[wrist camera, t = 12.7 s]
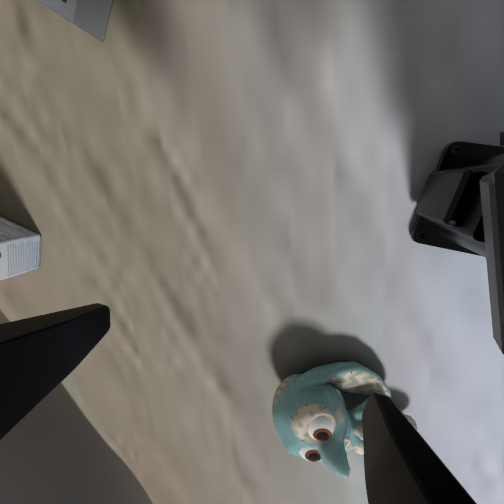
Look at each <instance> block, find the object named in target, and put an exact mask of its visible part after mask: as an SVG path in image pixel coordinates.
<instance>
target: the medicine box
mask: <svg viewBox="0 0 504 504" xmlns="http://www.w3.org/2000/svg"><path fill="white" fill-rule="evenodd" d="M40 247H41V236H40V235H39V234H37V233H35V232H32V231H30V230H28V229H26V228H24V227H22V226H20V225H17V224H15V223H13V222H11V221H9V220H7V219H5V218H2V217H0V280H3V279H6V278H9V277H12V276H16V275H19V274H22V273H25V272H28V271H31V270H34V269H37V268H38V267H39V266H40Z"/></svg>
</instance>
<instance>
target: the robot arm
mask: <svg viewBox="0 0 504 504" xmlns="http://www.w3.org/2000/svg"><path fill="white" fill-rule="evenodd" d="M500 146H504V131H503V132H500ZM453 147H456V148H457V152H456V154H454V155H453V154H452V153H451V149H452V148H453ZM416 213H417V214H418V217H417V219H416V222H415V225H414V227H413V230H412V232H411V239H412V240H413V241H415V242H417V243H421V244H426V245H431V246H436V247H441V248H446V249H451V250H455V251H460V252H465V253H470V254H475V255H480V256H484V257H486V259H487V270H488V281H489V293H490V304H491V315H492V326H493V337H494V339H495V341H496V343H497V344H498V346H499V348H500V350H501V352H502V353H503V354H504V147H499V146H491V145H483V144H476V143H468V142H460V141H459V142H453V143H450V144H448V145H447V146H446V147H445V148H444V150H443V153H442V155H441V158H440V161H439V163H438V166H437V168H436V171H435V172H433V173H431V174H430V175H429V177H428V180H427V183H426V185H425V188H424V190H423V193H422V196H421V198H420V201H419V203H418V206H417V209H416ZM421 232H422V233H423V236H422V237H421V238H417V235H418V233H421ZM109 328H110V309H109V307H108V306H106V305H103V304H99V303H96V304H91V305H86V306H82V307H77V308H73V309H68V310H63V311H59V312H54V313H50V314H45V315H40V316H36V317H31V318H27V319H22V320H18V321H13V322H8V323H4V324H0V440H1V439H2V438H3V437H4V436H5V435H6V434H7V433H8V432H9V431H10V430H11V429H13V427H15V426H16V425H17V424H18V423H19V422H20V421H21V420H22V419H23V418H24V417H25V416H26V415H27V414H28V413H29V412H30V411H31V410H32V409H33V408H34V407H35V406H37V405H38V404H39V403H40V402H41V401H42V400H43V399H44V398H45V397H46V396H47V395H48V394H49V393H50V392H51V391H52V390H53V389H54V388H55V387H56V386H57V385H58V384H60V383H61V382H62V381H63V380H64V379H65V378H66V377H67V376H68V375H69V374H70V373H71V372H72V371H73V370H74V369H75V368H76V367H77V366H78V365H79V364H80V362H81V361H82V360H83V359H84V358H85V357H86V356H87V355H88V353H89V352H90V351H91V350H92V349H93V348H94V347H95V346H96V345H97V343H98V342H99V341H100V340H101V339H102V338H103V337H104V336H105V334H106V333H107V332H108V330H109ZM362 430H363V449H364V467H365V481H366V489H367V497H368V503H369V504H476V502H475V501H474V500H473V499H472V498H471V496H470V495H469V494H468V493H467V491H466V490H465V489H464V488H463V487H462V485H461V484H460V483H459V482H458V480H457V479H456V478H455V477H454V476H453V474H452V473H451V472H450V471H449V469H448V468H447V467H446V466H445V465H444V463H443V462H442V461H441V460H440V458H439V457H438V456H437V455H436V454H435V452H434V451H433V450H432V449H431V447H430V446H429V445H428V444H427V443H426V441H425V440H424V439H423V438H422V436H421V435H420V434H419V433H418V432H417V430H416V429H415V428H414V427H413V425H412V424H411V423H410V422H409V420H408V419H407V418H406V417H405V416H404V414H403V413H402V412H401V411H400V409H399V408H398V407H397V406H396V405H395V403H394V402H393V401H392V400H391V398H390V397H389V396H387V395H385V394H382V393H379V392H376V391H373V392H371V394H370V396H369V398H368V400H367V403H366V405H365V407H364V410H363V413H362Z"/></svg>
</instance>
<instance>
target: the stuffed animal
mask: <svg viewBox="0 0 504 504" xmlns="http://www.w3.org/2000/svg"><path fill="white" fill-rule="evenodd" d="M335 387H336V388H337V389H339V390H340V391H342V392H350V393H358V394H366V395H370V394H371V392H373V391H376V392H379V393H382V394H385V395H387V396H389V397H391V393H390V389H389V388H388V386H387V385H386V384H385V383H384V381H383V380H382V379H381V377H380V376H379V375H377V374H376V373H375V372H373V371H371V370H370V369H368V368H366V367H364V366H362V365H361V364H359V363H357V362H355V361H353V362H334V363H331V364H327V365H322V366H318V367H315V368H313V369H311V370H309V371H307V372H305V373H303V374H292V375H290V376H289V377H287V378H286V379H285V380H283V381H282V382H281V384H280V385H279V386H278V388H277V389H276V392H275V395H274V398H273V419H274V424H275V427H276V429H277V432H278V434H279V436H280V438H281V440H282V442H283V444H284V446H285V448H286V450H287V451H288V452H289V453H290V454H295V455H297V456H299V457H301V458H303V459H305V460H308V461H312V462H323V463H324V464H325V465H326V466H327V467H328V468H329V469H330V470H331V471H332V472H333V473H334V474H335V475H337V476H340V477H342V478H347V479H348V477H349V473H350V467H349V464H348V460H347V454H346V453H347V452H351V451H355V452H356V453H357V454H364V449H363V430H362V413H363V410H364V407H365V405H366V403H367V400H368V399H367V400H366V401H364V402H363V403H362V404H361V405H360V406H359V407H356V408H353V409H349V410H346V408H345V406H344V404H343V402H342V400H341V398H340V396H339V394H338V392H337V390H336V388H335ZM404 416H405V417H406V418H407V419H408V420H409V422H410V423H411V424H412V425H413V427H414V428H415V429H416V430H417V429H418V428H417V426H416V423H415V420H414V419H413V418H412V417H411V416H408V415H405V414H404Z"/></svg>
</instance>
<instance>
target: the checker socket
mask: <svg viewBox="0 0 504 504" xmlns="http://www.w3.org/2000/svg"><path fill="white" fill-rule="evenodd" d="M36 1H38V2H40V3H41V4H43V5H44V6H46V7H48V8H49V9H51V10H52V11H54V12H56V13H57V14H59V15H60V16H62V17H64V18H65V19H67V20H69V21H70V22H72V23H73V24H75V25H77V26H78V27H80V28H81V29H83V30H85V31H86V32H88V33H90V34H91V35H93V36H94V37H96V38H98V39H99V40H101V41H102V42H103V41H104V36H105V32H106V28H107V23H108V19H109V15H110V10H111V6H112V2H113V0H67V2H66V3H65V2H63V1H62V0H36Z"/></svg>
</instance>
